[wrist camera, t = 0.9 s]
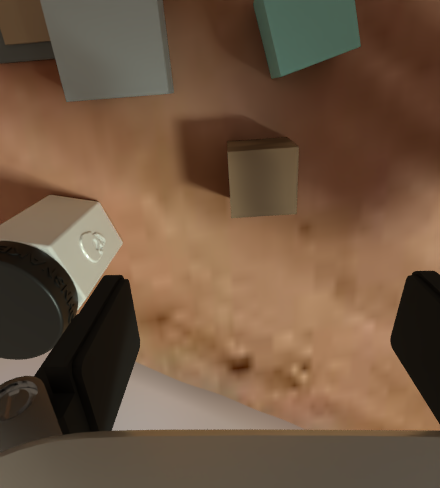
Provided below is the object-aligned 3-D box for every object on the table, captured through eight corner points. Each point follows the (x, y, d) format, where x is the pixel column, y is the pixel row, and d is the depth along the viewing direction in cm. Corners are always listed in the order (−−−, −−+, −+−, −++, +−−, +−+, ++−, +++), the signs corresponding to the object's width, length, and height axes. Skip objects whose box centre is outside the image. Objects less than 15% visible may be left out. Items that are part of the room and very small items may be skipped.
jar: (136, 259, 32) (90, 347, 21) (68, 284, 34) (-7, 377, 23) (88, 178, 28) (5, 233, 18) (14, 209, 30) (-105, 277, 19)
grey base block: (160, -18, 22) (152, -38, 19) (174, 93, 25) (169, 93, 22) (60, -10, 22) (32, -29, 19) (86, 100, 25) (66, 101, 22)
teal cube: (322, -26, 22) (347, -55, 17) (335, 54, 24) (360, 46, 20) (253, 4, 23) (259, -17, 18) (271, 78, 25) (281, 76, 20)
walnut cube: (286, 136, 27) (298, 147, 22) (285, 194, 29) (296, 214, 24) (227, 141, 27) (227, 152, 22) (230, 197, 29) (231, 218, 25)
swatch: (63, -66, 21) (59, -70, 21) (90, 55, 24) (87, 55, 24) (-38, -56, 21) (-44, -59, 21) (1, 63, 25) (-4, 63, 24)
